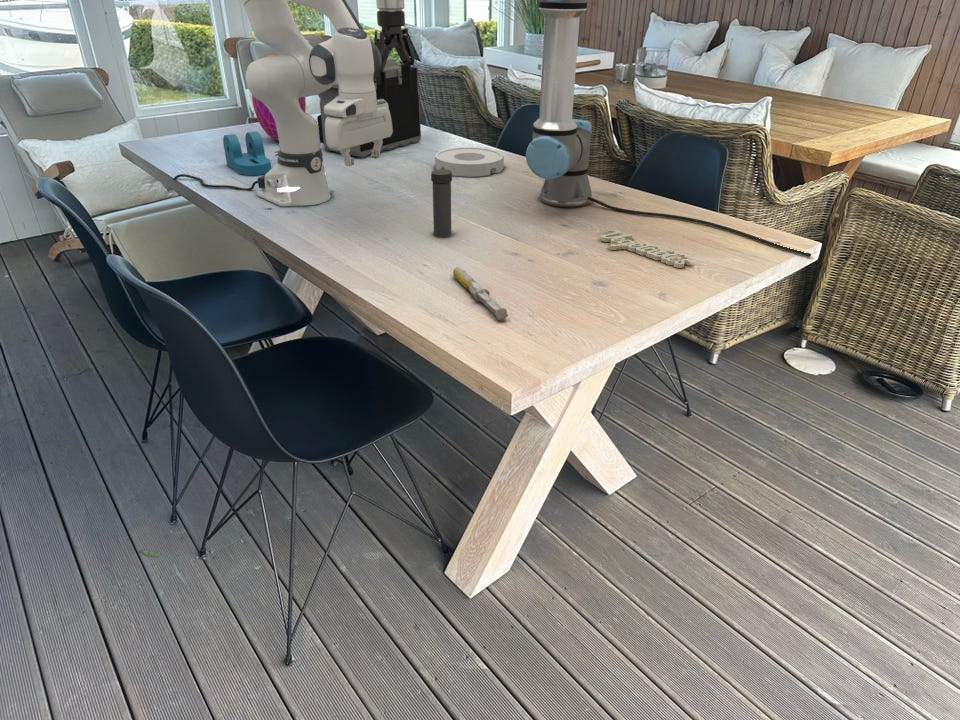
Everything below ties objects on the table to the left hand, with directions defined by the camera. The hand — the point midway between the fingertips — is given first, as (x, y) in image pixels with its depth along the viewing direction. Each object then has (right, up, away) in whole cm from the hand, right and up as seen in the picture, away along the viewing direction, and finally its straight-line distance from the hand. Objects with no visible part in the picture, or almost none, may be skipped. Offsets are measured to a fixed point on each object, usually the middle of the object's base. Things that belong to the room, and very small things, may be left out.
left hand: (363, 161), depth 172 cm
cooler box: (-12, +31, +87) cm, 93 cm away
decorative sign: (+69, -23, -3) cm, 72 cm away
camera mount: (-47, +14, +58) cm, 76 cm away
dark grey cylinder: (+20, -17, +6) cm, 27 cm away
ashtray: (+26, +16, +62) cm, 69 cm away
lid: (+20, -4, -2) cm, 20 cm away
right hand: (+5, +27, +25) cm, 37 cm away
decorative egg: (-46, +35, +93) cm, 110 cm away
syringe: (+29, -36, -27) cm, 54 cm away
